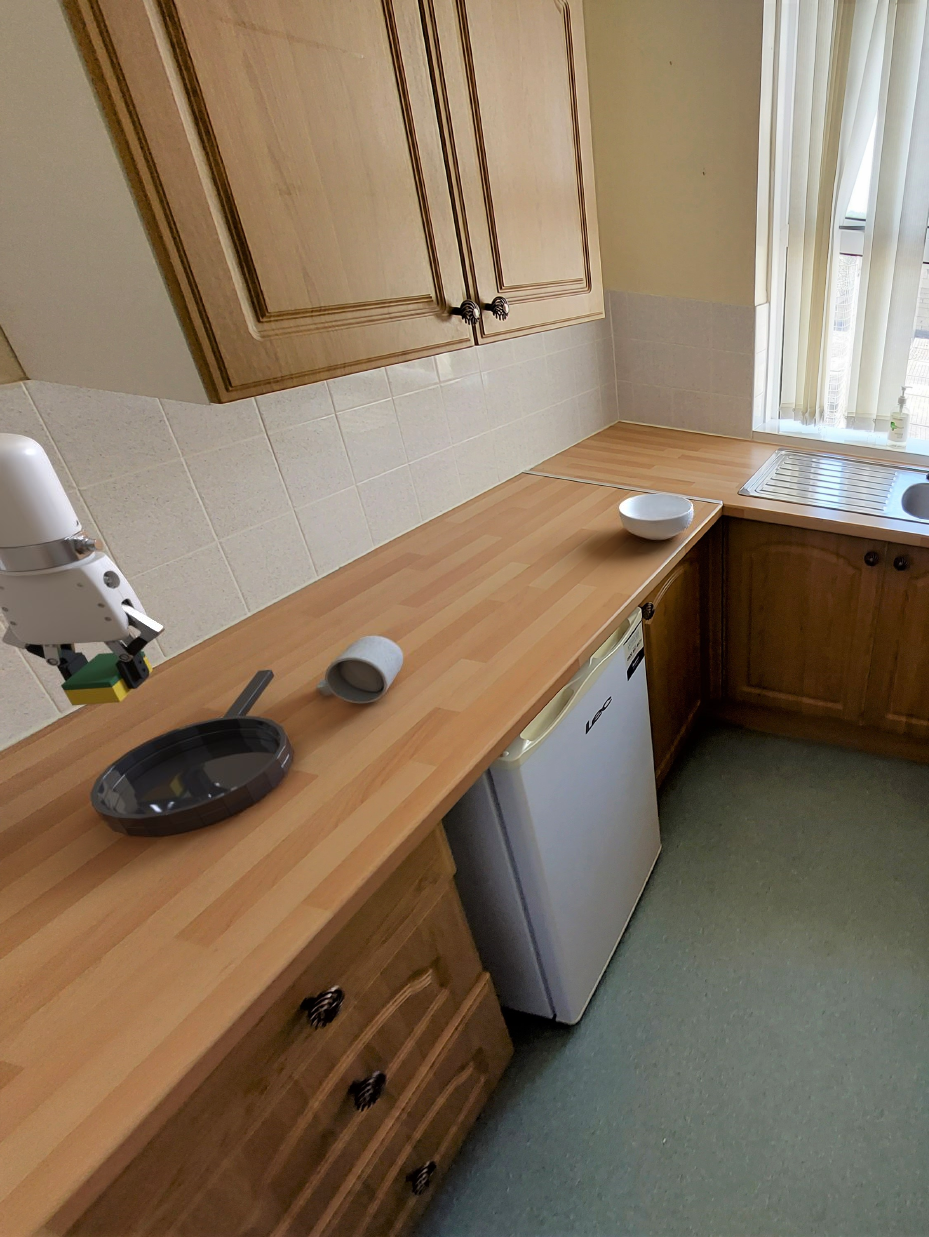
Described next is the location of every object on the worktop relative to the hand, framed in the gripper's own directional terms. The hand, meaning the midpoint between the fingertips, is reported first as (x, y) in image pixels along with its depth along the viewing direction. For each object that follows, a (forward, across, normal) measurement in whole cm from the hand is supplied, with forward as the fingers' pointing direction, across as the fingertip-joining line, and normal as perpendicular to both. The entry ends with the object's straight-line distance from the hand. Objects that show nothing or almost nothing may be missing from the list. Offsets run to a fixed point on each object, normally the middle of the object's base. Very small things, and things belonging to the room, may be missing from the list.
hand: (112, 683), depth 80 cm
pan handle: (+6, -12, -2) cm, 13 cm away
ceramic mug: (+8, -24, -5) cm, 26 cm away
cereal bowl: (+6, -70, -59) cm, 92 cm away
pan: (+8, -12, +12) cm, 18 cm away
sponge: (+1, 0, 0) cm, 1 cm away
